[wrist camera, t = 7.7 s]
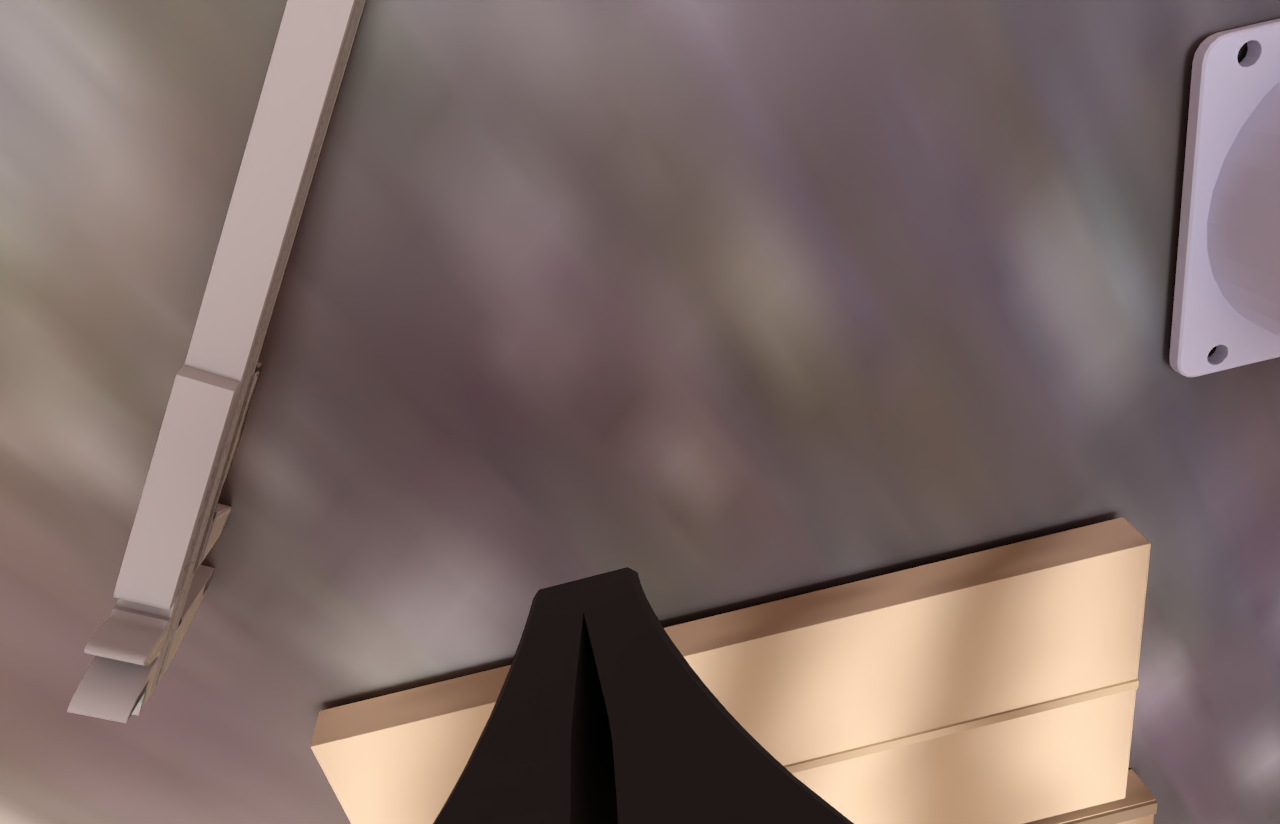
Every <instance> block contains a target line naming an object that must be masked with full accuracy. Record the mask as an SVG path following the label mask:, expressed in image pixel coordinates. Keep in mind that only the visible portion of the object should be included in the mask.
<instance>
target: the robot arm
mask: <svg viewBox="0 0 1280 824" xmlns="http://www.w3.org/2000/svg"><path fill="white" fill-rule="evenodd" d="M1244 43H1247V46H1248V51H1247V54H1246V57H1245V58H1244V59H1243V60H1242V61H1241V62H1240V63H1238V58H1237V56H1238V52H1239V49H1240V48H1241V47H1242V46H1243V45H1244ZM1216 346H1217V348H1216V351H1215V352H1214V353H1213V354H1212V356H1210V357H1208V354H1209V352H1210V351H1211V350H1212V349H1213V347H1216ZM1207 357H1208V358H1207ZM1277 357H1280V18H1279V19H1275V20H1270V21H1266V22H1261V23H1257V24H1253V25H1248V26H1244V27H1240V28H1235V29H1231V30H1226V31H1222V32H1218V33H1215V34H1213V35H1211V36H1208V37H1207V38H1206V39H1205V40H1204V41H1203V42H1202V43H1201V44H1200V45H1199V47H1198V49H1197V50H1196V52H1195V55H1194V59H1193V63H1192V76H1191V89H1190V101H1189V114H1188V127H1187V140H1186V152H1185V165H1184V178H1183V191H1182V203H1181V216H1180V229H1179V242H1178V254H1177V267H1176V280H1175V293H1174V305H1173V318H1172V331H1171V344H1170V356H1169V360H1170V366H1171V367H1172V368H1173V370H1175V371H1176V372H1178V373H1180V374H1181V375H1183V376H1186V377H1197V376H1201V375H1205V374H1210V373H1214V372H1218V371H1222V370H1227V369H1231V368H1235V367H1239V366H1243V365H1248V364H1252V363H1256V362H1260V361H1264V360H1269V359H1273V358H1277ZM433 824H854V823H853V822H851V821H850V820H849V819H847V818H846V817H845V816H844V815H842V814H841V813H840V812H839V811H837V810H836V809H835V808H834V807H832V806H831V805H830V804H829V803H827V802H826V801H825V800H824V799H822V798H821V797H820V796H819V795H817V794H816V793H815V792H814V791H812V790H811V789H810V788H809V787H807V786H806V785H805V784H804V783H802V782H801V781H800V780H799V779H797V778H796V777H795V776H794V775H793V774H792V773H791V772H790V771H788V770H787V769H786V768H785V767H784V766H783V765H782V764H781V763H780V762H779V761H777V760H776V759H775V758H774V757H773V756H772V755H771V754H770V753H769V752H768V751H767V750H766V749H764V748H763V747H762V746H761V745H760V744H759V743H758V742H757V741H756V740H755V739H754V738H753V737H752V736H751V735H750V734H749V733H748V732H747V731H746V730H745V729H744V728H743V727H742V726H741V725H740V723H739V722H738V721H737V720H736V719H735V718H734V717H733V716H732V715H731V714H730V713H729V712H728V711H727V709H726V708H725V707H724V706H723V705H722V704H721V703H720V702H719V700H718V699H717V698H716V697H715V696H714V694H713V693H712V692H711V691H710V690H709V689H708V687H707V686H706V685H705V684H704V683H703V681H702V680H701V679H700V678H699V676H698V675H697V674H696V673H695V671H694V670H693V669H692V668H691V666H690V665H689V664H688V662H687V661H686V659H685V658H684V657H683V655H682V654H681V652H680V651H679V650H678V648H677V647H676V646H675V644H674V643H673V641H672V640H671V639H670V637H669V636H668V634H667V633H666V631H665V630H664V628H663V626H662V625H661V623H660V621H659V620H658V618H657V616H656V615H655V613H654V611H653V610H652V608H651V606H650V604H649V602H648V600H647V598H646V596H645V594H644V591H643V589H642V586H641V584H640V580H639V576H638V572H636V571H634V570H632V569H630V568H628V567H627V568H623V569H619V570H615V571H611V572H607V573H603V574H599V575H595V576H592V577H588V578H584V579H580V580H576V581H572V582H568V583H564V584H560V585H556V586H552V587H548V588H544V589H540V590H539V591H538V592H537V594H536V595H535V597H534V598H533V601H532V605H531V609H530V612H529V615H528V619H527V622H526V625H525V628H524V631H523V634H522V637H521V640H520V643H519V645H518V648H517V651H516V653H515V656H514V659H513V662H512V664H511V667H510V669H509V672H508V674H507V677H506V679H505V681H504V684H503V686H502V689H501V691H500V694H499V696H498V698H497V701H496V703H495V706H494V708H493V710H492V712H491V715H490V717H489V719H488V721H487V723H486V725H485V727H484V729H483V731H482V733H481V735H480V738H479V740H478V742H477V744H476V746H475V748H474V750H473V752H472V754H471V756H470V758H469V760H468V762H467V764H466V766H465V768H464V770H463V772H462V774H461V776H460V777H459V779H458V781H457V783H456V785H455V787H454V788H453V790H452V792H451V794H450V796H449V797H448V799H447V801H446V803H445V804H444V806H443V808H442V809H441V811H440V813H439V814H438V816H437V818H436V819H435V821H434V823H433Z"/></svg>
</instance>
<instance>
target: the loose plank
mask: <svg viewBox="0 0 1280 824" xmlns="http://www.w3.org/2000/svg"><path fill="white" fill-rule="evenodd" d="M1150 548H1151V543H1150V542H1149V541H1148V540H1147V539H1146V538H1145V537H1144V536H1143V535H1142V534H1140V533H1139V532H1138V531H1137V530H1136V529H1135V528H1134V527H1133V526H1132V525H1131V524H1130V523H1129V522H1128V521H1127V520H1125V519H1124V518H1123V517H1121V518H1117V519H1113V520H1109V521H1105V522H1101V523H1096V524H1092V525H1088V526H1084V527H1080V528H1076V529H1072V530H1067V531H1063V532H1059V533H1055V534H1051V535H1047V536H1043V537H1038V538H1034V539H1030V540H1026V541H1022V542H1018V543H1014V544H1009V545H1005V546H1001V547H997V548H993V549H989V550H985V551H980V552H976V553H972V554H968V555H964V556H960V557H956V558H951V559H947V560H943V561H939V562H935V563H931V564H927V565H922V566H918V567H914V568H910V569H906V570H902V571H898V572H893V573H889V574H885V575H881V576H877V577H873V578H869V579H864V580H860V581H856V582H852V583H848V584H844V585H840V586H835V587H831V588H827V589H823V590H819V591H815V592H811V593H806V594H802V595H798V596H794V597H790V598H786V599H782V600H777V601H773V602H769V603H765V604H761V605H757V606H753V607H748V608H744V609H740V610H736V611H732V612H728V613H724V614H719V615H715V616H711V617H707V618H703V619H699V620H695V621H690V622H686V623H682V624H678V625H674V626H670V627H666V628H664V630H665V631H666V633H667V634H668V636H669V637H670V639H671V640H672V641H673V643H674V644H675V646H676V647H677V648H678V650H679V651H680V652H681V654H682V655H683V657H684V658H685V659H686V661H687V662H688V664H689V665H690V666H691V668H692V669H693V670H694V671H695V673H696V674H697V675H698V676H699V678H700V679H701V680H702V681H703V683H704V684H705V685H706V686H707V687H708V689H709V690H710V691H711V692H712V693H713V694H714V696H715V697H716V698H717V699H718V700H719V702H720V703H721V704H722V705H723V706H724V707H725V708H726V709H727V711H728V712H729V713H730V714H731V715H732V716H733V717H734V718H735V719H736V720H737V721H738V722H739V723H740V725H741V726H742V727H743V728H744V729H745V730H746V731H747V732H748V733H749V734H750V735H751V736H752V737H753V738H754V739H755V740H756V741H757V742H758V743H759V744H760V745H761V746H762V747H763V748H764V749H766V750H767V751H768V752H769V753H770V754H771V755H772V756H773V757H774V758H775V759H776V760H777V761H779V762H780V763H781V764H782V765H783V766H784V767H785V768H786V769H787V770H788V771H790V772H791V773H792V774H793V775H794V776H795V777H796V778H797V779H799V780H800V781H801V782H802V783H804V784H805V785H806V786H807V787H809V788H810V789H811V790H812V791H814V792H815V793H816V794H817V795H819V796H820V797H821V798H822V799H824V800H825V801H826V802H827V803H829V804H830V805H831V806H832V807H834V808H835V809H836V810H837V811H839V812H840V813H841V814H842V815H844V816H845V817H846V818H847V819H849V820H850V821H851V822H853V823H854V824H1024V823H1028V822H1032V821H1036V820H1040V819H1044V818H1048V817H1052V816H1056V815H1060V814H1064V813H1068V812H1072V811H1076V810H1080V809H1084V808H1088V807H1092V806H1096V805H1100V804H1104V803H1108V802H1112V801H1116V800H1120V799H1124V798H1125V796H1126V786H1127V776H1128V766H1129V756H1130V746H1131V736H1132V726H1133V716H1134V706H1135V696H1136V689H1137V688H1138V684H1139V680H1138V679H1137V677H1138V667H1139V657H1140V647H1141V637H1142V627H1143V617H1144V607H1145V597H1146V587H1147V577H1148V567H1149V557H1150ZM510 667H511V665H508V666H504V667H500V668H496V669H492V670H487V671H483V672H479V673H475V674H471V675H467V676H463V677H458V678H454V679H450V680H446V681H442V682H438V683H434V684H429V685H425V686H421V687H417V688H413V689H409V690H405V691H400V692H396V693H392V694H388V695H384V696H380V697H376V698H371V699H367V700H363V701H359V702H355V703H351V704H347V705H342V706H338V707H334V708H330V709H326V710H322V711H319V714H318V718H317V722H316V726H315V730H314V734H313V739H312V743H311V749H312V751H313V753H314V755H315V756H316V758H317V760H318V762H319V764H320V766H321V768H322V770H323V771H324V773H325V775H326V777H327V779H328V781H329V783H330V785H331V787H332V788H333V790H334V792H335V794H336V796H337V798H338V800H339V802H340V803H341V805H342V807H343V809H344V811H345V813H346V815H347V817H348V818H349V820H350V822H351V824H433V823H434V821H435V819H436V818H437V816H438V814H439V813H440V811H441V809H442V808H443V806H444V804H445V803H446V801H447V799H448V797H449V796H450V794H451V792H452V790H453V788H454V787H455V785H456V783H457V781H458V779H459V777H460V776H461V774H462V772H463V770H464V768H465V766H466V764H467V762H468V760H469V758H470V756H471V754H472V752H473V750H474V748H475V746H476V744H477V742H478V740H479V738H480V735H481V733H482V731H483V729H484V727H485V725H486V723H487V721H488V719H489V717H490V715H491V712H492V710H493V708H494V706H495V703H496V701H497V698H498V696H499V694H500V691H501V689H502V686H503V684H504V681H505V679H506V677H507V674H508V672H509V669H510Z"/></svg>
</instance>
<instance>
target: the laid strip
mask: <svg viewBox="0 0 1280 824" xmlns="http://www.w3.org/2000/svg"><path fill="white" fill-rule="evenodd" d="M1156 811H1157V802H1156V801H1155V798H1154V797H1153V796H1152V794H1151V793H1150V792H1149V790H1148V789H1147V788H1146V787H1145V785H1144V784H1143V783H1142V781H1141V780H1140V779H1139V778H1138V776H1137V775H1136V774H1135V772H1134V771H1133V770H1132V769H1130V770H1128V776H1127V786H1126V796H1125V798H1124V799H1120V800H1116V801H1112V802H1108V803H1104V804H1100V805H1096V806H1092V807H1088V808H1084V809H1080V810H1076V811H1072V812H1068V813H1064V814H1060V815H1056V816H1052V817H1048V818H1044V819H1040V820H1036V821H1032V822H1028V823H1024V824H1153V819H1154V814H1156Z"/></svg>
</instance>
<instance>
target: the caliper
mask: <svg viewBox="0 0 1280 824" xmlns="http://www.w3.org/2000/svg"><path fill="white" fill-rule="evenodd" d="M365 3H366V0H288V1H287V5H286V8H285V12H284V15H283V19H282V22H281V26H280V29H279V33H278V36H277V40H276V43H275V47H274V51H273V54H272V58H271V61H270V65H269V68H268V72H267V75H266V79H265V82H264V86H263V89H262V93H261V96H260V100H259V103H258V107H257V111H256V114H255V118H254V121H253V125H252V128H251V132H250V135H249V139H248V142H247V146H246V149H245V153H244V156H243V160H242V163H241V167H240V171H239V174H238V178H237V181H236V185H235V188H234V192H233V195H232V199H231V202H230V206H229V209H228V213H227V216H226V220H225V223H224V227H223V231H222V234H221V238H220V241H219V245H218V248H217V252H216V255H215V259H214V262H213V266H212V269H211V273H210V276H209V280H208V283H207V287H206V291H205V294H204V298H203V301H202V305H201V308H200V312H199V315H198V319H197V322H196V326H195V329H194V333H193V336H192V340H191V343H190V347H189V351H188V354H187V358H186V361H185V365H184V366H182V367H181V369H180V370H179V371H178V373H177V374H176V378H175V381H174V385H173V388H172V392H171V395H170V399H169V402H168V406H167V409H166V412H165V416H164V419H163V423H162V426H161V430H160V433H159V437H158V440H157V444H156V447H155V451H154V454H153V458H152V461H151V465H150V468H149V472H148V475H147V479H146V482H145V486H144V489H143V493H142V496H141V500H140V503H139V507H138V510H137V514H136V517H135V521H134V524H133V528H132V531H131V535H130V538H129V542H128V545H127V549H126V552H125V556H124V559H123V563H122V566H121V570H120V573H119V577H118V580H117V584H116V588H115V592H114V597H115V598H118V601H117V604H116V606H115V607H114V608H113V610H112V612H111V615H110V617H109V619H108V620H107V621H106V622H105V623H104V624H103V625H102V626H101V627H100V629H99V630H98V631H97V632H96V633H95V635H94V636H93V637H92V638H91V640H90V641H89V642H88V643H87V645H86V647H85V649H84V652H85V653H86V654H91V655H96V656H95V658H94V659H93V661H92V663H91V665H90V666H89V668H88V670H87V672H86V673H85V675H84V677H83V679H82V680H81V682H80V684H79V686H78V688H77V690H76V692H75V694H74V696H73V698H72V700H71V702H70V705H69V707H68V710H67V712H71V713H76V714H81V715H86V716H91V717H97V718H102V719H107V720H112V721H117V722H122V723H126V722H127V721H128V719H129V717H130V716H131V714H133V715H138V716H139V714H140V712H141V711H142V709H143V708H144V706H145V704H146V703H147V701H148V699H149V698H150V696H151V695H152V693H153V691H154V690H155V688H156V686H157V685H158V683H159V682H160V680H161V678H162V677H163V675H164V673H165V672H166V670H167V668H168V666H169V664H170V662H171V660H172V658H173V657H174V655H175V653H176V651H177V649H178V647H179V645H180V643H181V641H182V639H183V637H184V635H185V633H186V631H187V629H188V627H189V625H190V623H191V621H192V619H193V617H194V615H195V613H196V611H197V609H198V607H199V605H200V603H201V601H202V599H203V597H204V595H205V593H206V591H207V588H208V585H209V583H210V580H211V577H212V574H213V571H214V568H213V567H208V566H204V565H200V564H201V563H202V562H203V560H204V559H205V557H206V556H207V554H208V553H209V552H210V550H211V549H212V547H213V546H214V544H215V543H216V541H217V540H218V538H219V536H220V534H221V532H222V530H223V529H224V528H225V526H226V525H227V522H228V518H229V514H230V511H231V506H227V505H223V504H219V503H218V501H219V498H220V494H221V491H222V488H223V484H224V482H225V480H226V478H227V475H228V472H229V469H230V466H231V463H232V460H233V457H234V454H235V452H236V449H237V446H238V443H239V440H240V437H241V434H242V431H243V427H244V424H245V420H246V416H247V412H248V408H249V405H250V402H251V399H252V396H253V393H254V390H255V387H256V384H257V381H258V378H259V375H260V372H261V368H262V363H259V362H258V360H259V356H260V353H261V350H262V346H263V343H264V340H265V336H266V333H267V330H268V326H269V323H270V320H271V316H272V313H273V310H274V306H275V303H276V300H277V296H278V293H279V290H280V286H281V283H282V279H283V276H284V273H285V269H286V266H287V263H288V259H289V256H290V253H291V249H292V246H293V243H294V239H295V236H296V233H297V229H298V226H299V223H300V219H301V216H302V213H303V209H304V206H305V203H306V199H307V196H308V193H309V189H310V186H311V183H312V179H313V176H314V173H315V169H316V166H317V163H318V159H319V156H320V153H321V149H322V146H323V143H324V139H325V136H326V133H327V129H328V126H329V122H330V119H331V116H332V112H333V109H334V106H335V102H336V99H337V96H338V92H339V89H340V86H341V82H342V79H343V76H344V72H345V69H346V66H347V62H348V59H349V56H350V53H351V49H352V46H353V43H354V39H355V36H356V33H357V29H358V26H359V23H360V19H361V16H362V13H363V9H364V6H365Z"/></svg>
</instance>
